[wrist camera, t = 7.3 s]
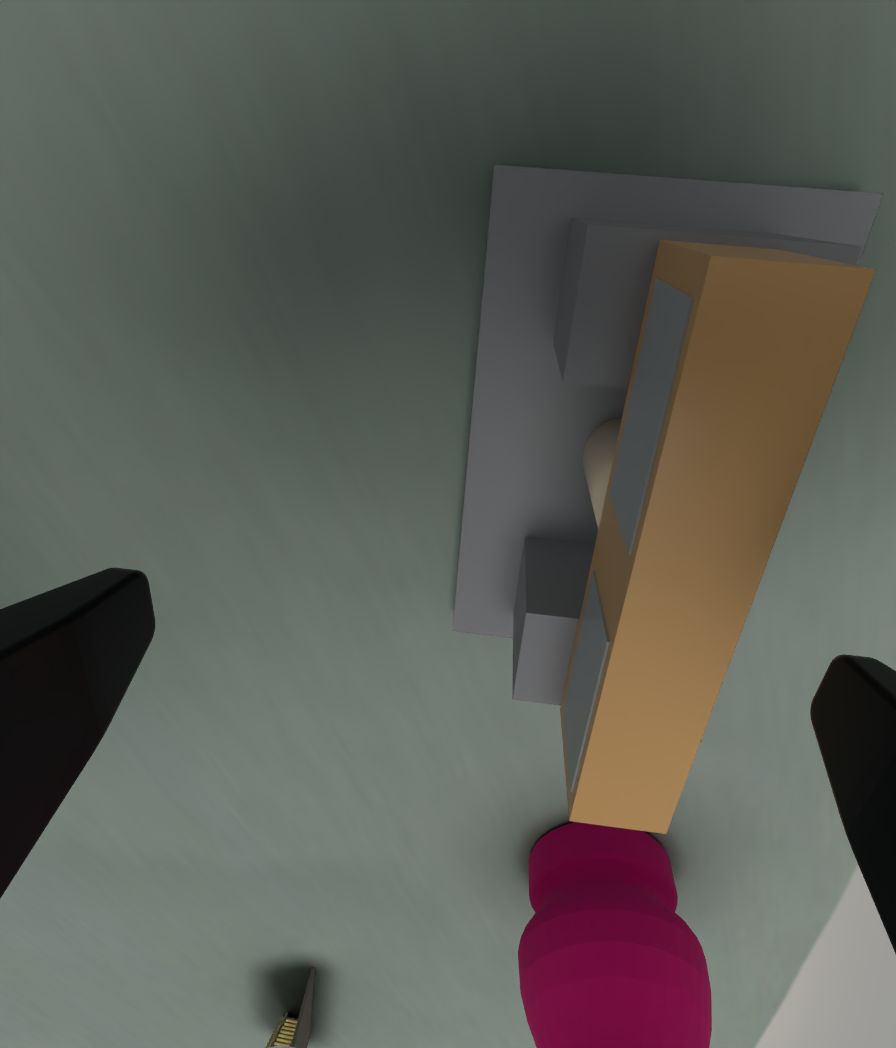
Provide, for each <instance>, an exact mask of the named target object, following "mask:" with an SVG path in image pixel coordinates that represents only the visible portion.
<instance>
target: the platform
mask: <svg viewBox="0 0 896 1048" xmlns="http://www.w3.org/2000/svg"><path fill="white" fill-rule="evenodd" d="M314 973H315V967H312V969H311V972H310V976H309V980H308V983H307V987H306V991H305V995H304V998H303V1002H302V1006H301V1010H300V1013H299V1017H298V1020H296V1019H291V1018H288V1012H286V1014H285V1016H281V1020H279V1023H278V1025H277V1027H276V1028H275V1031H274V1032H273V1034H272V1036H271V1038H270V1040H269V1043H267V1047H265V1048H307V1046H308V1042H309V1038H310V1034H311V1019H312V1004H313V989H314Z"/></svg>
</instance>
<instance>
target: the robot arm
mask: <svg viewBox="0 0 896 1048" xmlns="http://www.w3.org/2000/svg"><path fill="white" fill-rule="evenodd" d="M154 631H155V617H154V611H153V605H152V599H151V593H150V588H149V582H148V579H147V577H146V575H145V574H144V573H143V572H141V571H139V570H131V569H122V568H109V569H106V570H103V571H101V572H98V573H95V574H93V575H90V576H87V577H85V578H82V579H79V580H77V581H74V582H71V583H69V584H66V585H64V586H61V587H58V588H56V589H53V590H50V591H48V592H45V593H42V594H40V595H37V596H34V597H32V598H29V599H26V600H24V601H21V602H18V603H16V604H13V605H10V606H8V607H5V608H3V609H0V898H1V897H2V895H3V893H4V892H5V890H6V889H7V887H8V886H9V884H10V883H11V881H12V879H13V878H14V876H15V875H16V873H17V872H18V870H19V868H20V867H21V865H22V864H23V862H24V861H25V859H26V857H27V856H28V854H29V853H30V851H31V850H32V848H33V846H34V845H35V843H36V842H37V840H38V839H39V837H40V836H41V834H42V832H43V831H44V829H45V828H46V826H47V825H48V823H49V821H50V820H51V818H52V817H53V815H54V814H55V812H56V810H57V809H58V807H59V806H60V804H61V803H62V801H63V800H64V798H65V796H66V795H67V793H68V792H69V790H70V789H71V787H72V785H73V784H74V782H75V781H76V779H77V778H78V776H79V774H80V773H81V771H82V770H83V768H84V767H85V765H86V764H87V762H88V760H89V759H90V757H91V756H92V754H93V752H94V751H95V749H96V747H97V746H98V744H99V743H100V741H101V739H102V738H103V736H104V734H105V732H106V730H107V728H108V726H109V725H110V723H111V721H112V719H113V717H114V715H115V713H116V711H117V709H118V707H119V705H120V703H121V701H122V699H123V697H124V695H125V693H126V691H127V689H128V687H129V685H130V683H131V681H132V679H133V677H134V675H135V673H136V671H137V669H138V667H139V665H140V663H141V661H142V659H143V657H144V655H145V653H146V651H147V649H148V647H149V645H150V643H151V640H152V638H153V635H154ZM810 713H811V721H812V725H813V728H814V731H815V735H816V738H817V741H818V744H819V748H820V751H821V754H822V758H823V761H824V764H825V768H826V771H827V774H828V778H829V781H830V784H831V787H832V791H833V794H834V797H835V801H836V804H837V807H838V811H839V814H840V817H841V820H842V823H843V826H844V829H845V832H846V835H847V837H848V840H849V842H850V845H851V848H852V850H853V853H854V855H855V858H856V860H857V862H858V865H859V867H860V870H861V872H862V874H863V877H864V879H865V882H866V884H867V886H868V889H869V891H870V893H871V896H872V898H873V901H874V903H875V905H876V908H877V910H878V913H879V915H880V917H881V920H882V922H883V925H884V927H885V929H886V932H887V934H888V936H889V939H890V941H891V944H892V946H893V949H894V951H895V953H896V671H895V670H893V669H891V668H890V667H888V666H887V665H885V664H883V663H882V662H880V661H878V660H876V659H873V658H870V657H861V656H853V655H839V656H837V657H836V658H834V659H833V660H832V662H831V663H830V665H829V667H828V669H827V671H826V673H825V676H824V678H823V680H822V682H821V684H820V686H819V688H818V690H817V692H816V694H815V696H814V698H813V701H812V704H811V712H810Z"/></svg>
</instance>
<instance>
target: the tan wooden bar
mask: <svg viewBox="0 0 896 1048" xmlns="http://www.w3.org/2000/svg"><path fill="white" fill-rule="evenodd" d="M875 272H876V269H871V268H866V267H862V266H857V265H852V264H847V263H842V262H837V261H833V260H828V259H823V258H818V257H813V256H808V255H803V254H799V253H794V252H789V251H784V250H778V249H766V248H754V247H742V246H729V245H717V244H705V243H692V242H680V241H668V240H660V241H659V246H658V251H657V255H656V260H655V265H654V270H653V274H652V279H651V284H650V288H649V293H648V298H647V303H646V307H645V312H644V317H643V321H642V326H641V331H640V336H639V340H638V345H637V350H636V354H635V359H634V364H633V369H632V373H631V378H630V383H629V387H628V392H627V397H626V402H625V406H624V411H623V416H622V420H621V425H620V430H619V435H618V439H617V444H616V449H615V453H614V458H613V463H612V468H611V472H610V477H609V482H608V486H607V491H606V496H605V501H604V505H603V510H602V515H601V519H600V524H599V529H598V534H597V538H596V543H595V548H594V552H593V557H592V562H591V567H590V571H589V576H588V581H587V585H586V590H585V595H584V600H583V604H582V609H581V614H580V618H579V623H578V628H577V633H576V637H575V642H574V647H573V651H572V656H571V661H570V666H569V670H568V675H567V680H566V684H565V689H564V694H563V699H562V703H561V708H560V714H561V726H562V738H563V750H564V762H565V774H566V786H567V799H568V811H569V821H573V822H580V823H588V824H595V825H603V826H610V827H618V828H625V829H632V830H640V831H647V832H655V833H662V834H666V833H667V830H668V828H669V825H670V822H671V819H672V817H673V814H674V811H675V809H676V806H677V803H678V801H679V798H680V795H681V793H682V790H683V787H684V785H685V782H686V779H687V777H688V774H689V771H690V768H691V766H692V763H693V760H694V758H695V755H696V752H697V750H698V747H699V744H700V742H701V739H702V736H703V734H704V731H705V728H706V726H707V723H708V720H709V717H710V715H711V712H712V709H713V707H714V704H715V701H716V699H717V696H718V693H719V691H720V688H721V685H722V683H723V680H724V677H725V675H726V672H727V669H728V666H729V664H730V661H731V658H732V656H733V653H734V650H735V648H736V645H737V642H738V640H739V637H740V634H741V632H742V629H743V626H744V624H745V621H746V618H747V615H748V613H749V610H750V607H751V605H752V602H753V599H754V597H755V594H756V591H757V589H758V586H759V583H760V581H761V578H762V575H763V573H764V570H765V567H766V564H767V562H768V559H769V556H770V554H771V551H772V548H773V546H774V543H775V540H776V538H777V535H778V532H779V530H780V527H781V524H782V522H783V519H784V516H785V513H786V511H787V508H788V505H789V503H790V500H791V497H792V495H793V492H794V489H795V487H796V484H797V481H798V479H799V476H800V473H801V471H802V468H803V465H804V462H805V460H806V457H807V454H808V452H809V449H810V446H811V444H812V441H813V438H814V436H815V433H816V430H817V428H818V425H819V422H820V420H821V417H822V414H823V411H824V409H825V406H826V403H827V401H828V398H829V395H830V393H831V390H832V387H833V385H834V382H835V379H836V377H837V374H838V371H839V369H840V366H841V363H842V360H843V358H844V355H845V352H846V350H847V347H848V344H849V342H850V339H851V336H852V334H853V331H854V328H855V326H856V323H857V320H858V318H859V315H860V312H861V309H862V307H863V304H864V301H865V299H866V296H867V293H868V291H869V288H870V285H871V283H872V280H873V277H874V275H875Z"/></svg>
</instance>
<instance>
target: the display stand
mask: <svg viewBox="0 0 896 1048" xmlns="http://www.w3.org/2000/svg"><path fill="white" fill-rule="evenodd" d="M882 197H883V193H870V192H857V191H843V190H830V189H816V188H803V187H790V186H776V185H763V184H749V183H736V182H723V181H709V180H696V179H682V178H669V177H656V176H642V175H629V174H615V173H602V172H589V171H575V170H562V169H548V168H535V167H521V166H508V165H495V164H494V172H493V183H492V194H491V205H490V217H489V228H488V239H487V250H486V261H485V272H484V284H483V295H482V306H481V317H480V328H479V339H478V351H477V362H476V373H475V384H474V395H473V406H472V418H471V429H470V440H469V451H468V462H467V473H466V485H465V496H464V507H463V518H462V529H461V541H460V552H459V563H458V574H457V585H456V596H455V608H454V619H453V630H452V631H458V632H467V633H475V634H484V635H492V636H501V637H509V638H513V700H521V701H529V702H537V703H546V704H554V705H561V703H562V699H563V694H564V689H565V684H566V680H567V675H568V670H569V666H570V661H571V656H572V651H573V647H574V642H575V637H576V633H577V628H578V623H579V618H580V614H581V609H582V604H583V600H584V595H585V590H586V585H587V581H588V576H589V571H590V567H591V562H592V557H593V552H594V548H595V543H596V538H597V534H598V529H599V524H600V519H601V515H602V510H603V505H604V501H605V496H606V491H607V486H608V482H609V477H610V472H611V468H612V463H613V458H614V453H615V449H616V444H617V439H618V435H619V430H620V425H621V420H622V416H623V411H624V406H625V402H626V397H627V392H628V387H629V383H630V378H631V373H632V369H633V364H634V359H635V354H636V350H637V345H638V340H639V336H640V331H641V326H642V321H643V317H644V312H645V307H646V303H647V298H648V293H649V288H650V284H651V279H652V274H653V270H654V265H655V260H656V255H657V251H658V246H659V241H660V240H668V241H680V242H692V243H705V244H717V245H729V246H742V247H754V248H766V249H778V250H784V251H789V252H794V253H799V254H803V255H808V256H813V257H818V258H823V259H828V260H833V261H837V262H842V263H847V264H852V265H857V266H858V264H859V261H860V258H861V256H862V253H863V250H864V247H865V244H866V242H867V239H868V236H869V233H870V230H871V228H872V225H873V222H874V219H875V216H876V214H877V211H878V208H879V205H880V202H881V200H882Z"/></svg>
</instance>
